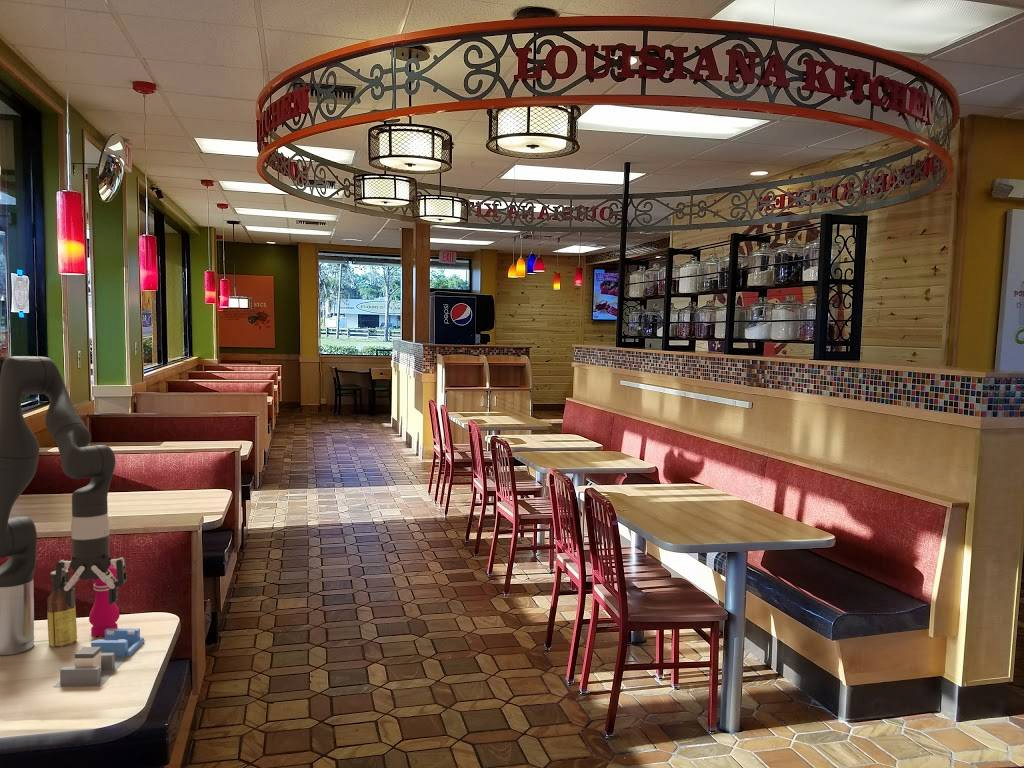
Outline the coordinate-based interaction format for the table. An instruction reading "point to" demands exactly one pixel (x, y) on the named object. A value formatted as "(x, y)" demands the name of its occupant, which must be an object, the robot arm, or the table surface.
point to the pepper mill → (103, 608)
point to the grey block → (88, 657)
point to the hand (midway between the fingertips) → (91, 604)
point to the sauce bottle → (60, 617)
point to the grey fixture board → (103, 659)
